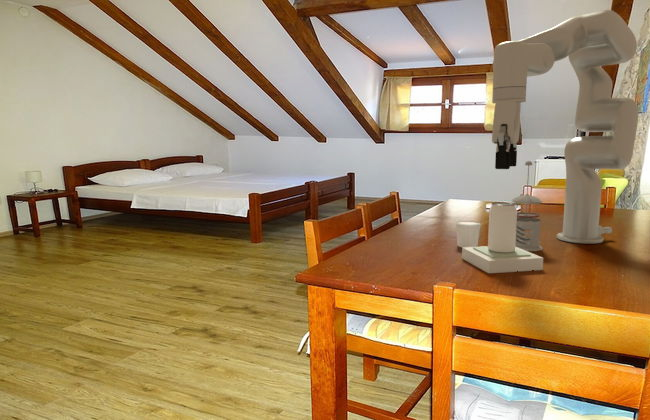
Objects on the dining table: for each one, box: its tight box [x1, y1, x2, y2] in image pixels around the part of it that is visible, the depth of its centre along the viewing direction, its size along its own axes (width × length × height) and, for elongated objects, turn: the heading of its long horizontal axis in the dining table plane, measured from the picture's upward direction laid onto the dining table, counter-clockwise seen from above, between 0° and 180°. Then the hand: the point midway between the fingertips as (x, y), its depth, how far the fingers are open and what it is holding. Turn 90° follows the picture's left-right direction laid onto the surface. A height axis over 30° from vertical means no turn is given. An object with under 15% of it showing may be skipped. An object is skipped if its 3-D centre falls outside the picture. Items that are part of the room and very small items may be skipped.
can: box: [487, 201, 518, 253], centre depth 114 cm, size 6×6×12 cm
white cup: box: [455, 220, 481, 248], centre depth 134 cm, size 7×7×7 cm
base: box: [461, 245, 544, 274], centre depth 115 cm, size 14×14×3 cm
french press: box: [511, 160, 543, 252], centre depth 131 cm, size 10×12×25 cm
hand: (506, 167), depth 112 cm, fingers open, 9 cm apart
